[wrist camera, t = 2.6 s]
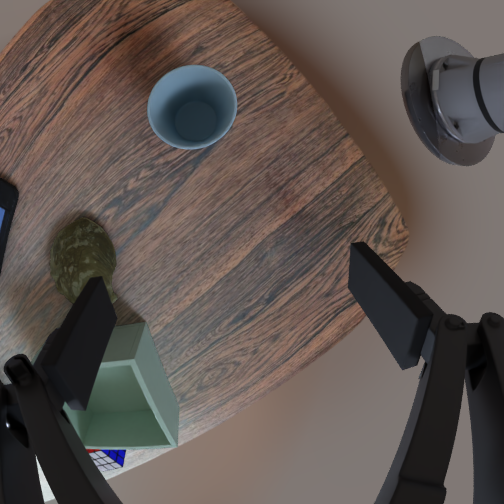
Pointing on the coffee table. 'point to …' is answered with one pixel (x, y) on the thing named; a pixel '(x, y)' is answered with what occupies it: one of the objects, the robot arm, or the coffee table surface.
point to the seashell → (82, 258)
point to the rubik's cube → (107, 458)
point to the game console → (6, 213)
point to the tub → (128, 397)
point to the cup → (192, 107)
